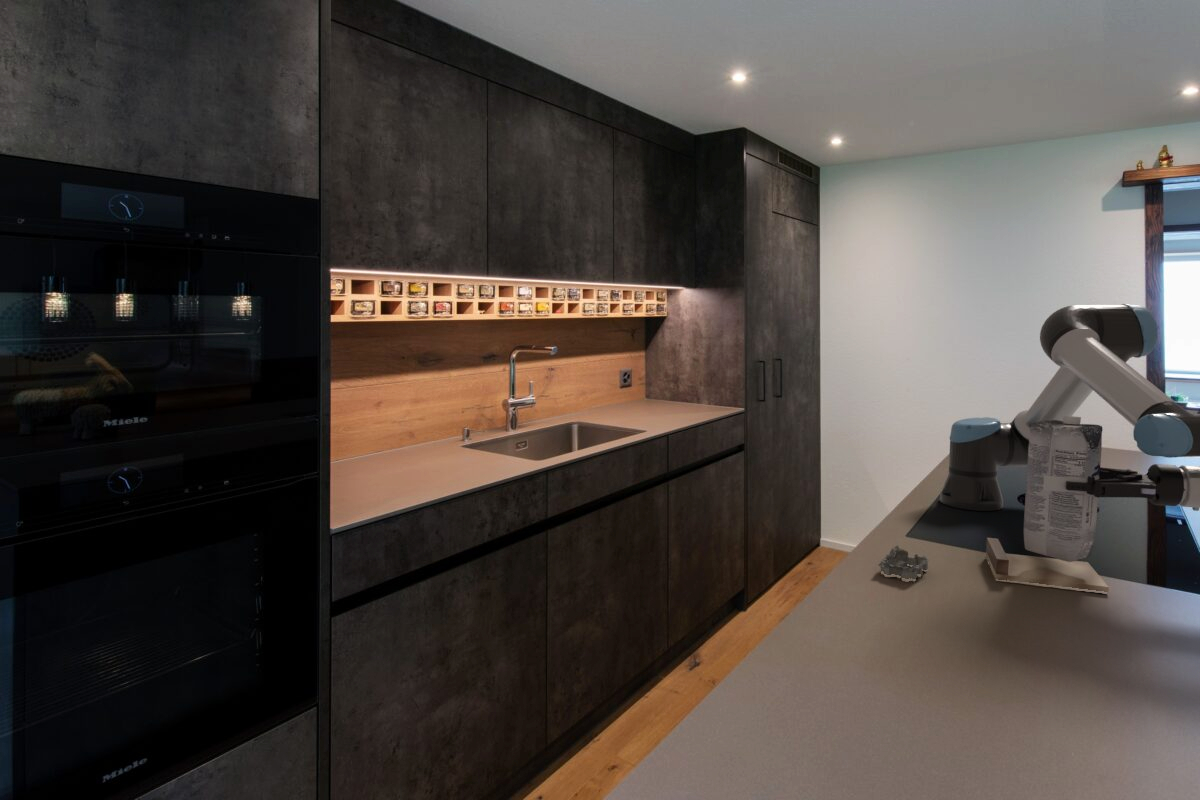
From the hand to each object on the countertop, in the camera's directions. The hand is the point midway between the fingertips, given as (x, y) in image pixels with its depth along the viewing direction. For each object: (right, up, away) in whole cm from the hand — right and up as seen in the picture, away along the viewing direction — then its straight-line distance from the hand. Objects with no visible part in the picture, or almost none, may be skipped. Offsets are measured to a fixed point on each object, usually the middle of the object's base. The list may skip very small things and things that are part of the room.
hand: (1037, 476), depth 134 cm
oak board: (+2, -20, +2) cm, 20 cm away
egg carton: (-24, -20, +3) cm, 32 cm away
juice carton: (+4, -15, 0) cm, 16 cm away
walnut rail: (-5, -18, +5) cm, 19 cm away
